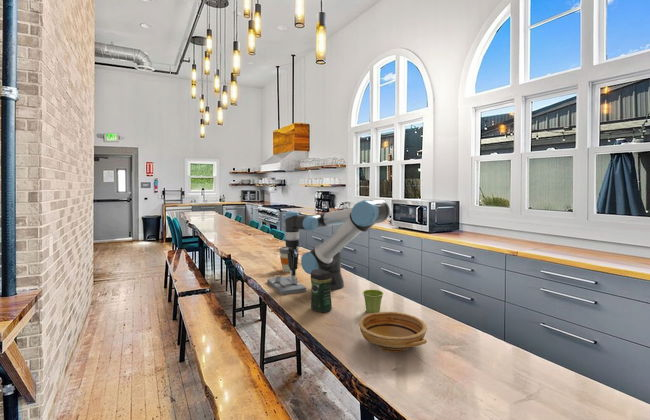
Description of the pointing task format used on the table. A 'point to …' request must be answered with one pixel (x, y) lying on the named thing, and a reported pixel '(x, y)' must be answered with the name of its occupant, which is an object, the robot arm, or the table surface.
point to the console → (286, 286)
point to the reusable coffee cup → (285, 258)
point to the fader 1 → (277, 278)
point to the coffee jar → (321, 290)
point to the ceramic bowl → (393, 330)
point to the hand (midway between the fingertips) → (293, 280)
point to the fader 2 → (294, 280)
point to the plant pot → (373, 300)
